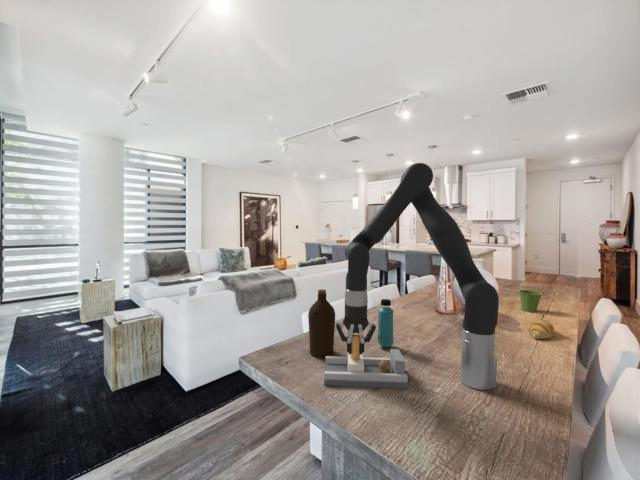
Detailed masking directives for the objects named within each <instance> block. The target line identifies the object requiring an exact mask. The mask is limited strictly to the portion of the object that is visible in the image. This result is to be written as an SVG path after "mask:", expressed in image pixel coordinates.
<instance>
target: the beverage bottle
mask: <svg viewBox="0 0 640 480" xmlns="http://www.w3.org/2000/svg"><path fill="white" fill-rule="evenodd" d="M380 305H381V307H379V308H378V309H377V312H378V313H377V317H378V318H377V344H378V345H379V346H381V347H384V348H385V347H386V348H387V347H388V348H389V347H393V344H394V335H395V334H394V310H393V309H392V307H390V306H391V305H392V302H391V300H390V299H388V298H383V299H381V300H380Z"/></svg>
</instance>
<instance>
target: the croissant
mask: <svg viewBox="0 0 640 480" xmlns="http://www.w3.org/2000/svg"><path fill="white" fill-rule="evenodd" d="M527 329H528V332H529V333H530V334H531V336H532V338H534V339H537V340H543V339H552V338H554V335H555V328H554V325H553V324H552V323H551V322H549V321H548V320H545V319H539V320H538V319H537V320H536V319H535V320H532V321H531V322H529V323H528V324H527Z"/></svg>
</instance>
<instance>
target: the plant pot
mask: <svg viewBox="0 0 640 480" xmlns="http://www.w3.org/2000/svg"><path fill="white" fill-rule="evenodd" d="M518 292H519V296H520V306H521V310H522V311H525V312H527V313H536V312H537V311H538V308H539V304H540V299H541V298H542V295H543V293H542V292H540V291H535V290H529V289H528V290H527V289H520V290H518Z"/></svg>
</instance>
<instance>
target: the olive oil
mask: <svg viewBox="0 0 640 480" xmlns="http://www.w3.org/2000/svg"><path fill="white" fill-rule="evenodd" d="M317 292H318V293H317V299H316V301H315V302H314V303H313V304H312V305H311V306H310V308H309V310H308V314H307V316H308V333H309V335H308V336H309V339H308V340H309V354H310V355H311V356H312V357H315V358H326V356H333V354H334V349H335V348H334V346H335V329H336V310H335V308H334V306H333V305H332V304H331V303H330V302H329V301H328V300H327V290H326V289H322V288H321V289H318V290H317Z"/></svg>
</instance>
